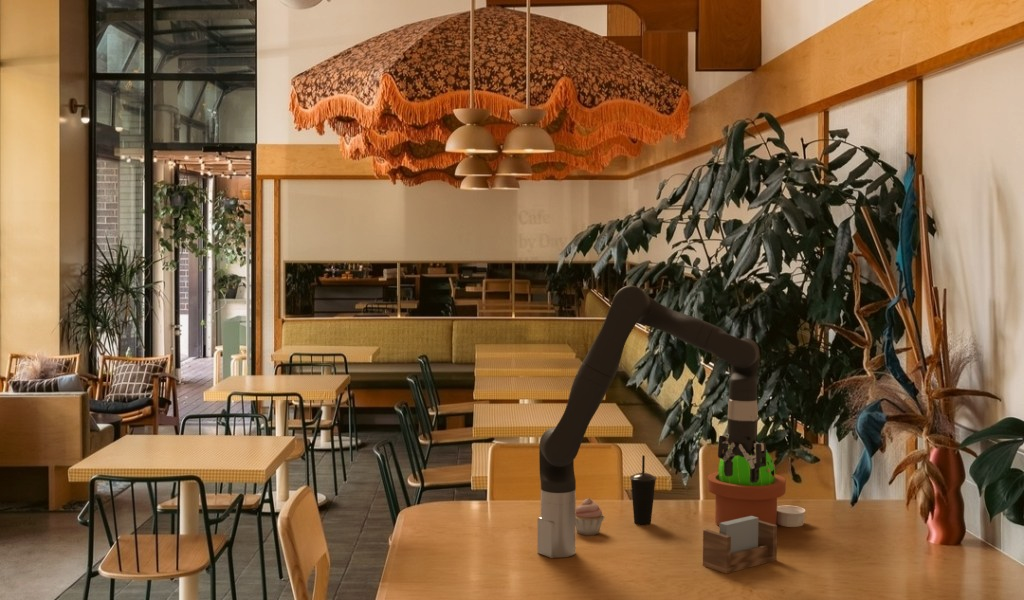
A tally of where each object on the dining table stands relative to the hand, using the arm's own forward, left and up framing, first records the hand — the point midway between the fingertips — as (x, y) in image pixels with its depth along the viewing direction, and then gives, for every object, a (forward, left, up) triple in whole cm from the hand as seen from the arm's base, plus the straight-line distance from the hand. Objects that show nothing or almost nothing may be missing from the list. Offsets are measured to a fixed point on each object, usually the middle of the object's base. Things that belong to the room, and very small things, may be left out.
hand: (741, 479), depth 282 cm
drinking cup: (+5, +42, -22) cm, 48 cm away
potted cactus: (+29, +24, -22) cm, 44 cm away
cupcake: (-14, +44, -22) cm, 51 cm away
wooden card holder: (0, 0, -22) cm, 22 cm away
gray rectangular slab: (0, 0, -21) cm, 21 cm away
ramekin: (+40, +17, -22) cm, 49 cm away
